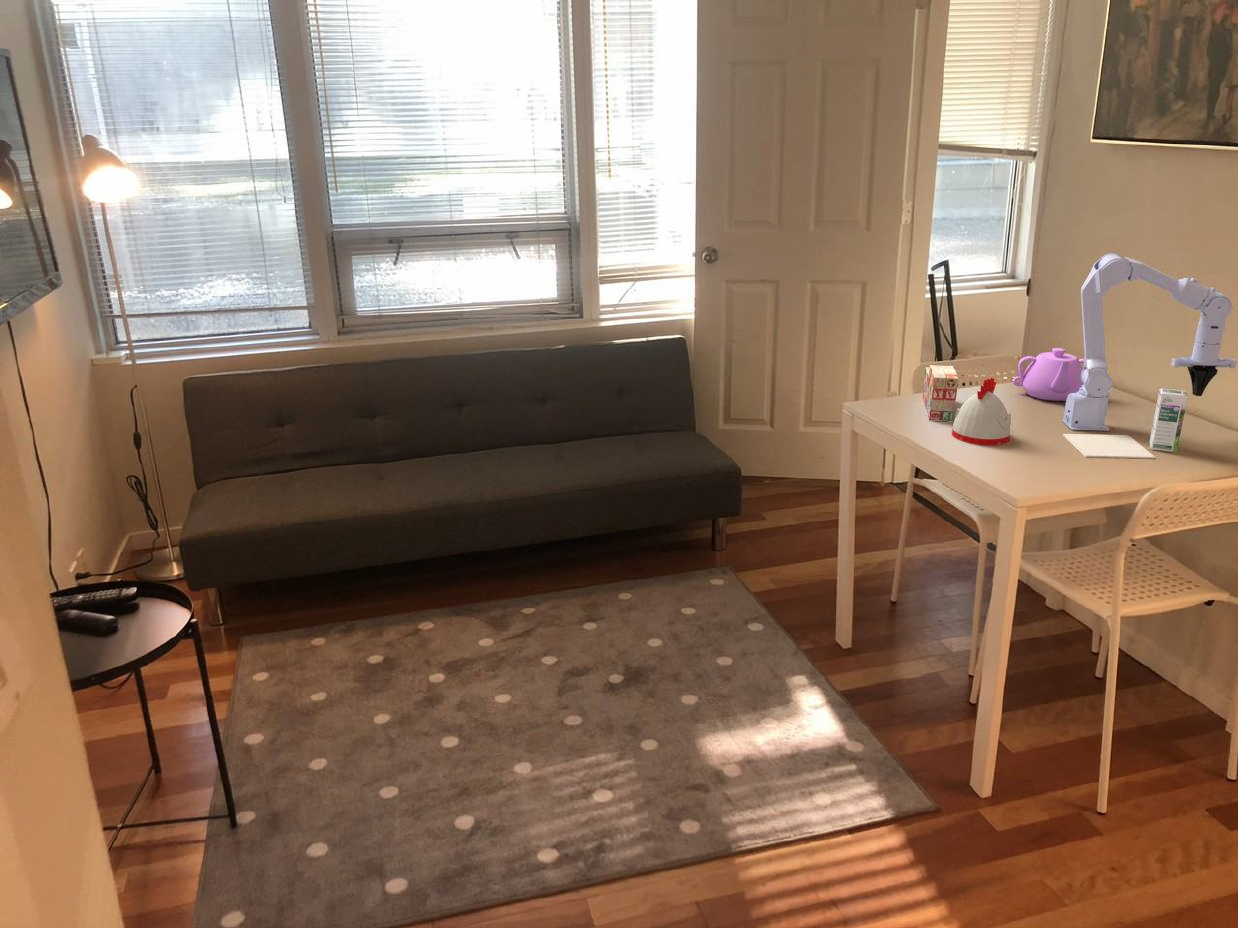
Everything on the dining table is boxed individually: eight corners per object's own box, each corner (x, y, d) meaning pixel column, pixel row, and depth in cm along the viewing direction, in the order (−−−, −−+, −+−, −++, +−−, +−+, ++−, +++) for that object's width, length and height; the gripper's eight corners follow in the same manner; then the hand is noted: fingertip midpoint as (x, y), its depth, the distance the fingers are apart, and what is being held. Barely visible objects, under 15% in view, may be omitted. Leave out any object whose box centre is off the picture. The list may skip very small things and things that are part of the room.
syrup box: (1150, 450, 237) (1161, 393, 232) (1148, 442, 242) (1159, 386, 237) (1176, 453, 235) (1188, 395, 230) (1174, 445, 240) (1186, 389, 235)
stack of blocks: (921, 398, 280) (926, 356, 275) (944, 399, 278) (949, 357, 274) (929, 421, 260) (934, 376, 256) (953, 422, 259) (958, 377, 254)
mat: (1085, 457, 233) (1085, 455, 233) (1062, 435, 248) (1063, 433, 248) (1155, 458, 232) (1155, 457, 231) (1128, 436, 246) (1128, 435, 246)
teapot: (1018, 406, 271) (1025, 358, 266) (1007, 385, 291) (1013, 340, 286) (1103, 411, 266) (1112, 362, 262) (1086, 389, 286) (1093, 343, 281)
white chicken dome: (1018, 436, 248) (1027, 379, 242) (993, 449, 239) (1001, 390, 233) (967, 424, 257) (974, 369, 252) (941, 436, 248) (948, 379, 243)
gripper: (1230, 338, 243) (1219, 390, 247) (1170, 337, 244) (1159, 390, 249) (1245, 345, 236) (1233, 398, 241) (1183, 344, 237) (1172, 397, 242)
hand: (1196, 395), depth 244 cm, fingers closed
